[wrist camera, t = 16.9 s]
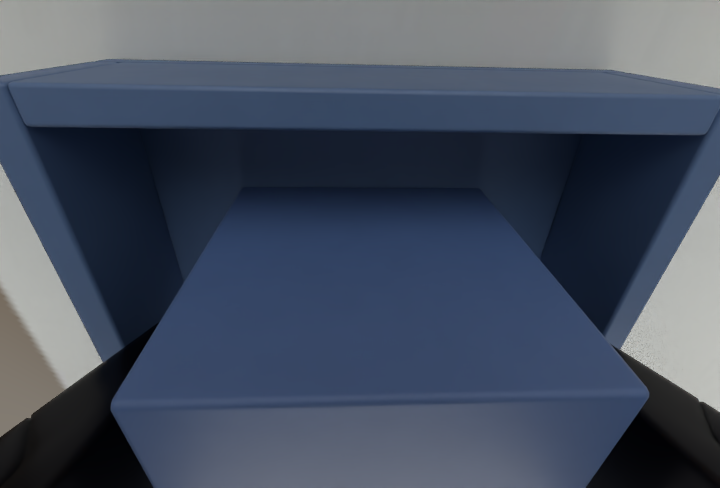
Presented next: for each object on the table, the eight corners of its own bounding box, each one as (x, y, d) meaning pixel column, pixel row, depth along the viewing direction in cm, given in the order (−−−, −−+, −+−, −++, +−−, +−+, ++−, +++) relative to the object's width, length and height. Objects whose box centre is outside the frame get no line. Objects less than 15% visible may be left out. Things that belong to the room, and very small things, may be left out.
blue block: (268, 354, 10) (212, 601, 6) (241, 185, 7) (103, 406, 3) (445, 351, 10) (519, 585, 6) (480, 186, 8) (657, 393, 3)
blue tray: (209, 392, 11) (171, 498, 9) (106, 58, 7) (-46, 80, 4) (500, 385, 12) (544, 484, 9) (611, 69, 7) (767, 96, 4)
